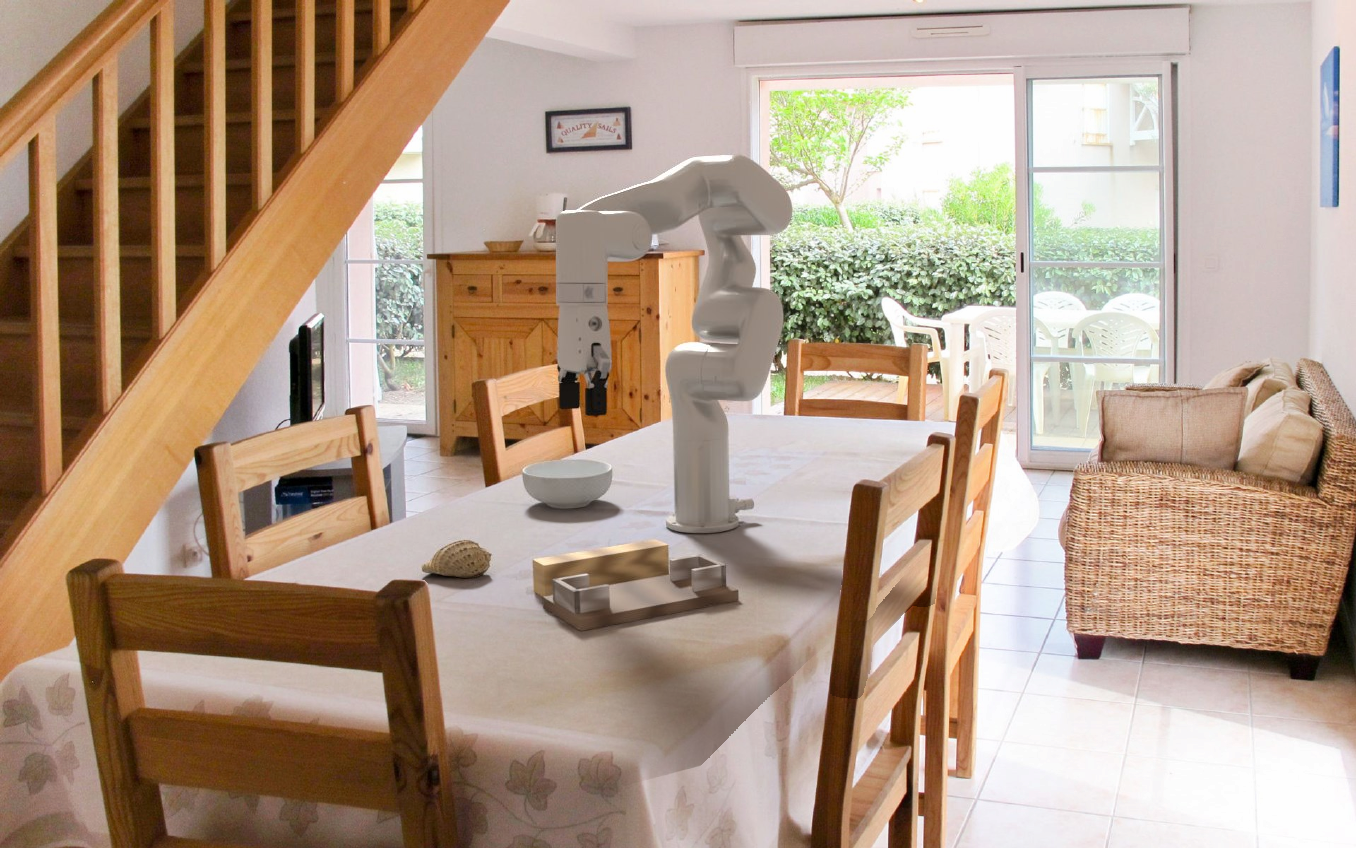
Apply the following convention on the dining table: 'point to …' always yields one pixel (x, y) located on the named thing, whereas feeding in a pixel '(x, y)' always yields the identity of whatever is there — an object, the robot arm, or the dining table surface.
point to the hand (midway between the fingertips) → (582, 411)
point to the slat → (603, 565)
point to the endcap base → (641, 594)
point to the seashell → (459, 560)
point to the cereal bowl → (567, 482)
